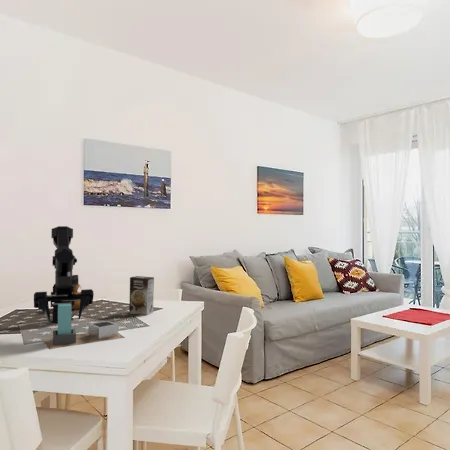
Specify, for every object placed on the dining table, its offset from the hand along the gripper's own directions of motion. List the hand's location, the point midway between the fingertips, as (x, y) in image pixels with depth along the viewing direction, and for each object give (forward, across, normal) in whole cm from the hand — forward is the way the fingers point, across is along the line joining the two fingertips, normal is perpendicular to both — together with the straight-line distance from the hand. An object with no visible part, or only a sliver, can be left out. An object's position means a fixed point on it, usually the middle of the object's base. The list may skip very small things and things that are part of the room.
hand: (64, 319), depth 129 cm
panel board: (+5, +6, +7) cm, 10 cm away
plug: (+5, 0, +5) cm, 7 cm away
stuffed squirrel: (-34, +4, +45) cm, 57 cm away
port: (+3, +13, +7) cm, 15 cm away
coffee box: (-20, +33, +32) cm, 50 cm away
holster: (+5, 0, +5) cm, 7 cm away
